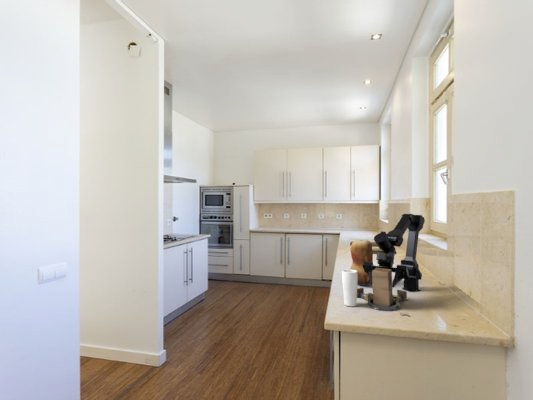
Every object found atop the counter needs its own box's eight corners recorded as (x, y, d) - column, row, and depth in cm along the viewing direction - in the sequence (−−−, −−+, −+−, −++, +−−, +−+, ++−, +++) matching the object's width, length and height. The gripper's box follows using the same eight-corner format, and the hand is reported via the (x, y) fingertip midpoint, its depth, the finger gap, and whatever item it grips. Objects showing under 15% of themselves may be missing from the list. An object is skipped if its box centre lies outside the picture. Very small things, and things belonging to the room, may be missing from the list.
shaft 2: (398, 298, 141) (398, 289, 141) (406, 300, 138) (406, 291, 138) (388, 301, 136) (388, 292, 136) (396, 303, 133) (396, 294, 133)
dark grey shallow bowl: (386, 299, 139) (386, 296, 139) (406, 309, 126) (406, 305, 126) (361, 302, 136) (361, 299, 136) (379, 312, 123) (378, 308, 123)
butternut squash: (345, 283, 170) (344, 238, 171) (365, 281, 174) (364, 237, 175) (360, 289, 157) (359, 241, 157) (381, 287, 161) (380, 240, 162)
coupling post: (377, 300, 135) (376, 267, 135) (392, 303, 132) (391, 269, 131) (373, 305, 130) (372, 271, 130) (389, 308, 126) (387, 272, 126)
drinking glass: (349, 308, 128) (349, 273, 128) (339, 304, 134) (338, 270, 134) (361, 306, 131) (360, 271, 131) (350, 301, 137) (349, 268, 137)
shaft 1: (355, 297, 144) (355, 288, 144) (362, 295, 145) (361, 287, 146) (367, 301, 136) (367, 293, 136) (374, 300, 138) (374, 291, 138)
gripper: (363, 244, 140) (355, 272, 131) (406, 246, 129) (401, 277, 120) (368, 258, 146) (361, 286, 137) (410, 262, 135) (406, 292, 126)
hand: (381, 285), depth 130 cm, fingers open, 9 cm apart
